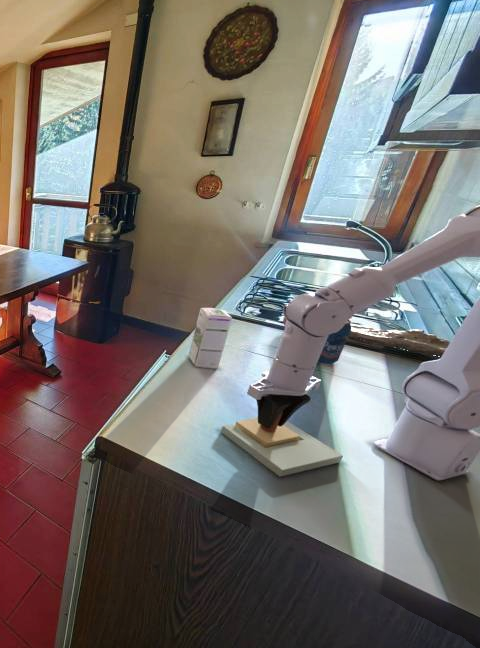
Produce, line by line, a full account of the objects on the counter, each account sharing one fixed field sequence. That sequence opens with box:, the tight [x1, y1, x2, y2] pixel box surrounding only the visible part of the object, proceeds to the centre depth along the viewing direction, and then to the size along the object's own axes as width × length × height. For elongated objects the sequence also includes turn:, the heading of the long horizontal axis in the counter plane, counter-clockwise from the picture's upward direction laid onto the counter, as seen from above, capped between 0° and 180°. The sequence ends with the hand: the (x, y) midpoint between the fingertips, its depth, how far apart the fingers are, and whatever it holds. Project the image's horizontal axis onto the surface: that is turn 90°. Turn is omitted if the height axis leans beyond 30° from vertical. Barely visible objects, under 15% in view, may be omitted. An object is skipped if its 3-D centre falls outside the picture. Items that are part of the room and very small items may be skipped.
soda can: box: [317, 319, 352, 366], centre depth 103 cm, size 7×7×12 cm
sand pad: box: [234, 411, 300, 448], centre depth 74 cm, size 6×8×6 cm
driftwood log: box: [347, 323, 451, 360], centre depth 115 cm, size 35×5×10 cm
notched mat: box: [220, 420, 344, 478], centre depth 72 cm, size 12×14×2 cm
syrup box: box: [187, 307, 233, 370], centre depth 99 cm, size 6×6×14 cm
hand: (269, 424), depth 74 cm, fingers closed on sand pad, 2 cm apart
